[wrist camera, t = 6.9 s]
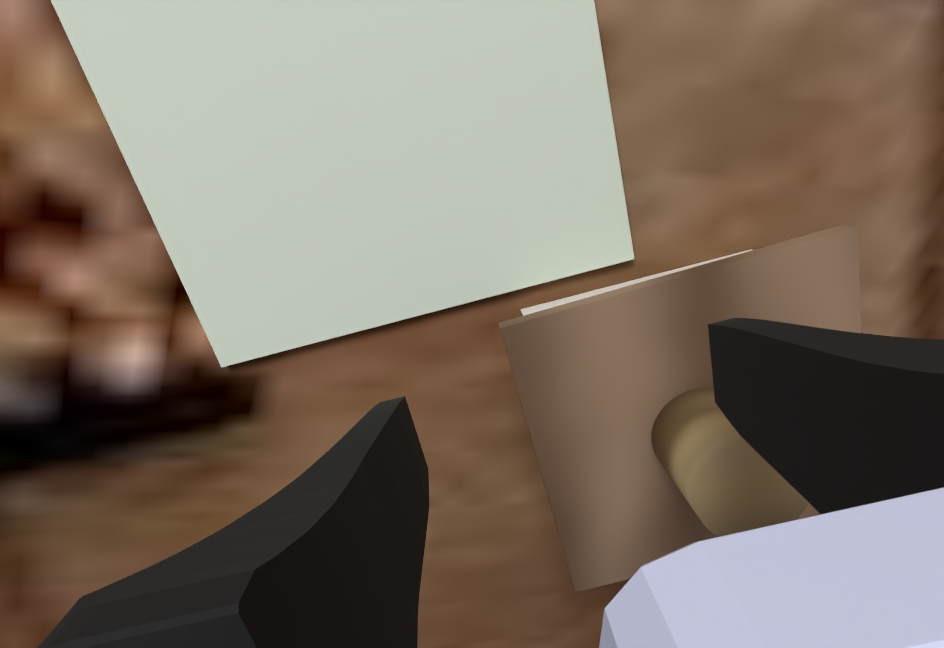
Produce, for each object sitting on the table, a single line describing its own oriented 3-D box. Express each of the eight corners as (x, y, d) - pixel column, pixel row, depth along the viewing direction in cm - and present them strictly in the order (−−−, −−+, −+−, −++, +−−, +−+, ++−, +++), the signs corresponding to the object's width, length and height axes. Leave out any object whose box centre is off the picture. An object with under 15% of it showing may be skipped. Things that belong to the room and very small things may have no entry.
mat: (225, 363, 21) (221, 367, 21) (28, -64, 16) (19, -69, 16) (631, 257, 21) (634, 259, 20) (554, -227, 16) (556, -236, 15)
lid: (572, 580, 21) (599, 677, 17) (498, 322, 17) (511, 370, 13) (856, 508, 20) (952, 592, 16) (844, 224, 16) (965, 243, 12)
